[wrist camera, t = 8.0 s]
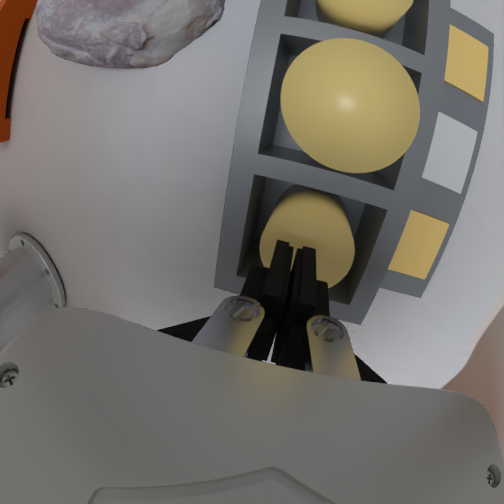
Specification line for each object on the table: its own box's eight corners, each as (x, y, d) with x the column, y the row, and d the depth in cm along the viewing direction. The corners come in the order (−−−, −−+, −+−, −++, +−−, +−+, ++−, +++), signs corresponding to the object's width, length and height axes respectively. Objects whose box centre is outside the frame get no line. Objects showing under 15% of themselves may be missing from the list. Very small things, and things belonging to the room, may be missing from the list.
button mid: (373, 165, 13) (400, 190, 8) (284, 141, 13) (268, 153, 9) (393, 81, 10) (429, 65, 6) (301, 56, 11) (293, 25, 7)
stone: (240, 40, 19) (256, -57, 9) (172, 109, 16) (157, -25, 7) (103, 18, 19) (90, -50, 9) (37, 74, 16) (2, 2, 6)
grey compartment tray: (353, 276, 20) (360, 324, 16) (237, 246, 21) (213, 287, 16) (420, -3, 10) (448, -33, 5) (291, -37, 11) (280, -78, 6)
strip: (418, 293, 20) (421, 300, 19) (365, 279, 20) (366, 286, 19) (489, 35, 9) (495, 33, 8) (433, 3, 10) (438, -1, 9)
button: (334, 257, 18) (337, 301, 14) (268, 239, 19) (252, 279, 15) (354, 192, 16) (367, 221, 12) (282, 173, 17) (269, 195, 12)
